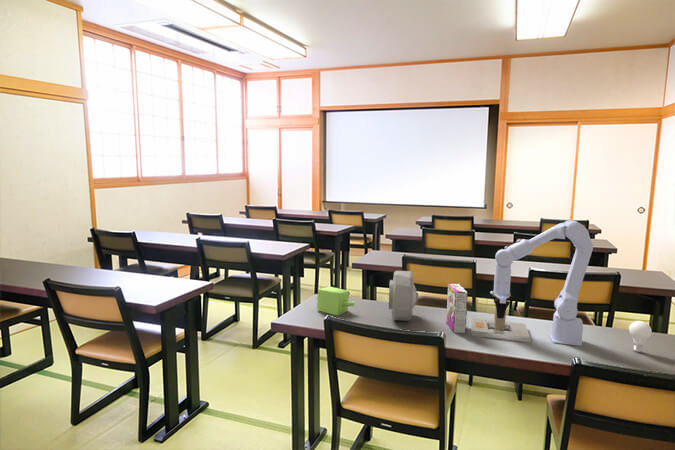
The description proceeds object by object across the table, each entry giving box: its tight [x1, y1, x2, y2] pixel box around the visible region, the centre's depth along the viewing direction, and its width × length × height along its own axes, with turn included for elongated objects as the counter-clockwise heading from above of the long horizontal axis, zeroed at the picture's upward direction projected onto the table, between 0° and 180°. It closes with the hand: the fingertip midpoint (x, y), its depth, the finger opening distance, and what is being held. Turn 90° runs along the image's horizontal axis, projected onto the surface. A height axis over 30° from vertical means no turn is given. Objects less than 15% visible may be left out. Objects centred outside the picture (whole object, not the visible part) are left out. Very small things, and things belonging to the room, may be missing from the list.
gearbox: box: [316, 286, 355, 316], centre depth 186 cm, size 18×10×10 cm, turn 57°
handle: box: [492, 290, 512, 331], centre depth 164 cm, size 5×6×15 cm
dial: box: [388, 270, 419, 322], centre depth 177 cm, size 20×12×20 cm, turn 171°
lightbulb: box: [628, 320, 653, 353], centre depth 149 cm, size 6×6×11 cm
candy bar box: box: [445, 283, 468, 334], centre depth 168 cm, size 11×5×16 cm, turn 0°
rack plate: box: [470, 317, 531, 343], centre depth 165 cm, size 20×14×2 cm
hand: (499, 316), depth 164 cm, fingers closed on handle, 4 cm apart
